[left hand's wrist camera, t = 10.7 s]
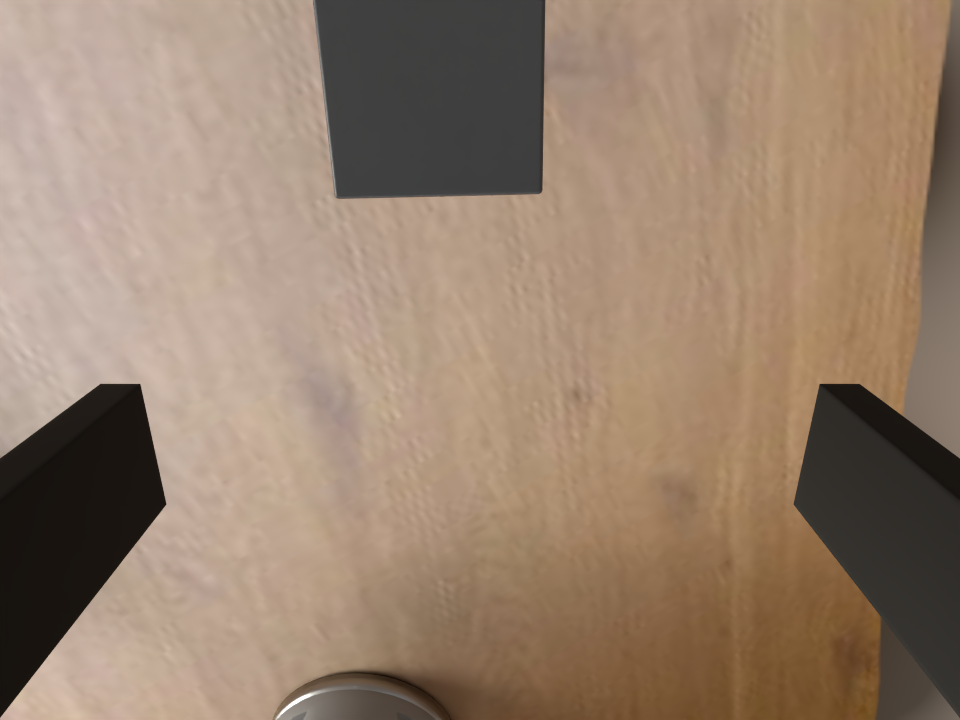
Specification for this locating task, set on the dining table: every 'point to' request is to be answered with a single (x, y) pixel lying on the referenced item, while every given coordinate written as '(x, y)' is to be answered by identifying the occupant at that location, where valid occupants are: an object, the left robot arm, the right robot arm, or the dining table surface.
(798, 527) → the dining table surface
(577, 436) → the dining table surface
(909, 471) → the left robot arm
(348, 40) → the bar
